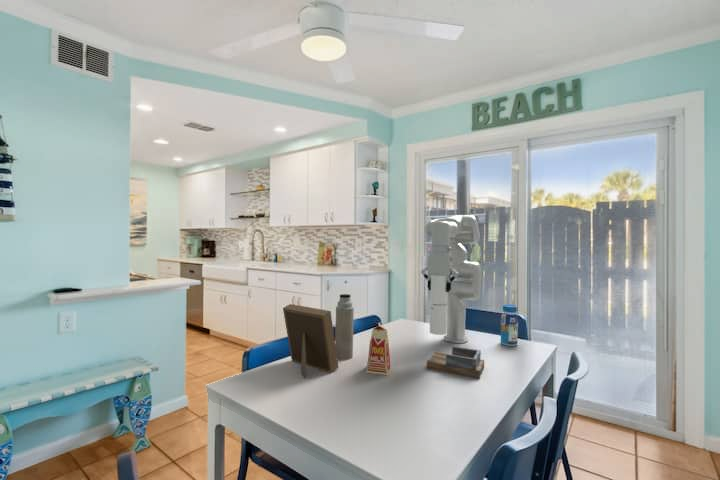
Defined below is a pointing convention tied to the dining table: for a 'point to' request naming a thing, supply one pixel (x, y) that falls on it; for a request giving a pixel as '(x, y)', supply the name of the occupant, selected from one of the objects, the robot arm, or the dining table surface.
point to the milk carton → (379, 352)
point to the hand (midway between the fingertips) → (439, 290)
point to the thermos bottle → (344, 328)
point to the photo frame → (311, 338)
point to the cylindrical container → (438, 305)
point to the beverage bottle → (509, 325)
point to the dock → (458, 362)
